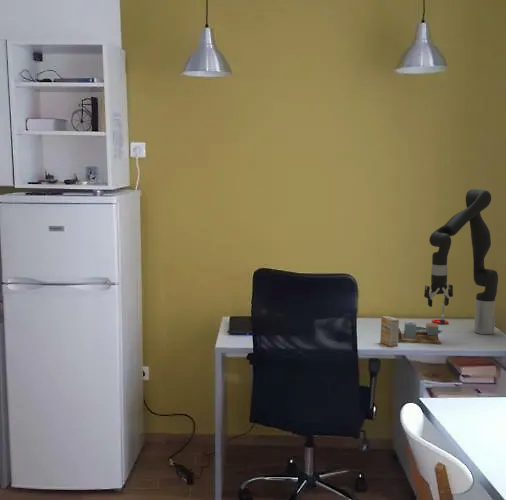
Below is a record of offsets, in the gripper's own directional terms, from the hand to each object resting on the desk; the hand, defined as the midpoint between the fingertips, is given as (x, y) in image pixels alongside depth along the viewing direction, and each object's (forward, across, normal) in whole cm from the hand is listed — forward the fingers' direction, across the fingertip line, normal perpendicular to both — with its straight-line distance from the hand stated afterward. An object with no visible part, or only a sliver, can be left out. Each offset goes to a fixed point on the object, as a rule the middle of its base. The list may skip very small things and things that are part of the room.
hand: (438, 306), depth 322 cm
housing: (+16, -13, +3) cm, 21 cm away
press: (+17, -10, +2) cm, 19 cm away
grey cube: (+16, -3, -1) cm, 16 cm away
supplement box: (+17, -28, -3) cm, 32 cm away
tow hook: (+18, +21, +34) cm, 44 cm away
